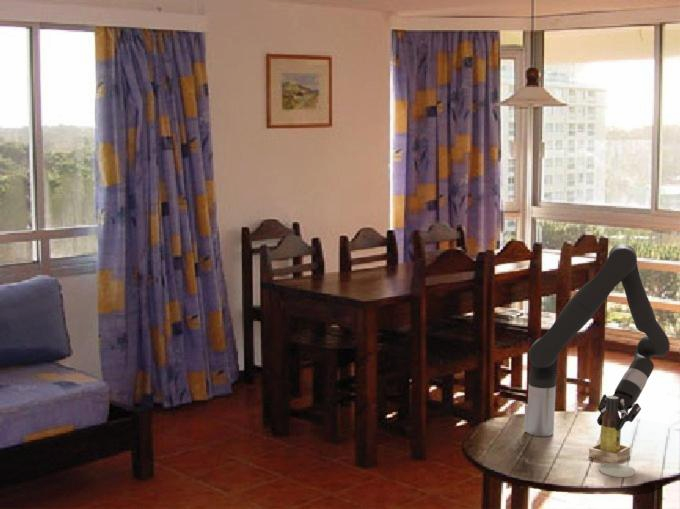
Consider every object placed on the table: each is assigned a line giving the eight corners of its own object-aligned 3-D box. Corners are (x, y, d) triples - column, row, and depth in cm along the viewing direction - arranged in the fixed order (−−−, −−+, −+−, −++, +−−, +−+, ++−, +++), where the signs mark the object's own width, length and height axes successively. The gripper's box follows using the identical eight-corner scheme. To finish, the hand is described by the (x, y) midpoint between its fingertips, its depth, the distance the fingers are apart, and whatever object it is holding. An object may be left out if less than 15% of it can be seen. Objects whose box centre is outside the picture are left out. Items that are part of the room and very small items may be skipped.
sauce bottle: (619, 460, 341) (623, 401, 337) (599, 458, 342) (603, 399, 339) (618, 453, 347) (622, 395, 344) (599, 452, 348) (602, 393, 345)
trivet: (593, 471, 330) (593, 469, 330) (608, 462, 339) (608, 460, 339) (625, 480, 323) (626, 478, 323) (641, 470, 332) (641, 468, 332)
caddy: (588, 457, 343) (589, 448, 343) (603, 449, 351) (603, 440, 351) (615, 463, 337) (616, 454, 337) (629, 455, 345) (630, 446, 345)
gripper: (608, 374, 351) (584, 415, 345) (646, 383, 340) (621, 426, 334) (617, 387, 355) (594, 427, 349) (654, 396, 344) (631, 438, 338)
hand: (607, 426), depth 342 cm, fingers closed on sauce bottle, 6 cm apart
